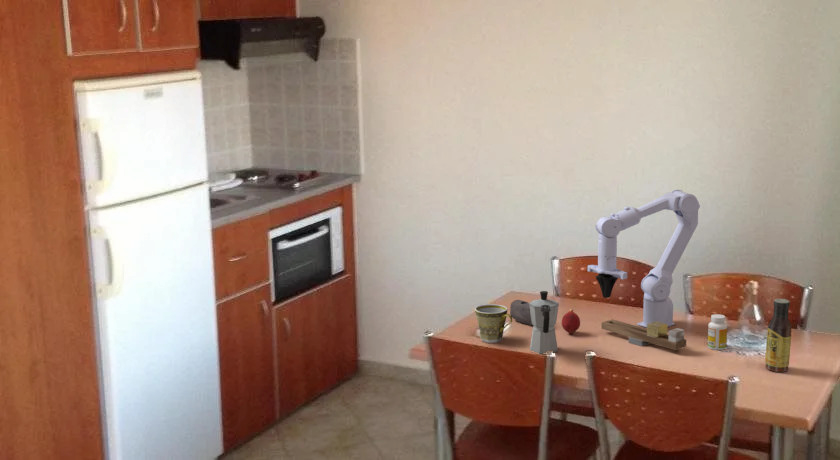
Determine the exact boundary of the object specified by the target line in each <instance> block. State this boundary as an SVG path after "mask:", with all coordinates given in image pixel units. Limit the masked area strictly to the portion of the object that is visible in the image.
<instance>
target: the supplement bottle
mask: <svg viewBox="0 0 840 460" xmlns="http://www.w3.org/2000/svg"><path fill="white" fill-rule="evenodd" d="M707 328H708V329H707V331H708V332H707V348H709V349H711V350H714V351H723V349H724V350H726V349H727V346H728V344H727V343H728V324H727V322H726V316H725V315H723V314H719V313H718V314H716V313H715V314H711V316H710V322H708V327H707Z"/></svg>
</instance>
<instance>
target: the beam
mask: <svg viewBox="0 0 840 460" xmlns="http://www.w3.org/2000/svg"><path fill="white" fill-rule="evenodd" d="M601 329H602V330H605V331H609V332H611V333H615V334H619V335H622V336H625V337H628V340H627V341H628V343H629V344H632V345H635V346H639V347H644V346H647V345H650V344H654V345H657V346H660V347H663V348H667V349H671V350H675V351H676V350H680V349H682V348H686V347H687V339H685V329H682V328H678V327H677V328H673V329H670V330H669V331H668V333H667V334H666V335H663V338H662V337H655V336H651V335H648V334H647V328H646V327H643V326H639V325H635V324H630V323H626V322H623V321H619V320H616V319H613V318H612V319H608V320H606V321H605V320H604V321H602V322H601Z"/></svg>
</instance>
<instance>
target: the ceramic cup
mask: <svg viewBox="0 0 840 460" xmlns="http://www.w3.org/2000/svg"><path fill="white" fill-rule="evenodd" d="M474 313H475V317H476V321H477V325H478V331H479V335H480V340H481V342H484V343H488V344H498V343H499V342H502V341H503V336H504V330H505V329H506V327H507V326H509V325H511V324H512V322H513V318H512V317H511V315H510V313H508V307H507V306H505V305H502V304H494V303H493V304H492V303H491V304H489V303H487V304H481V305H478V306H476V307H475V308H474ZM507 317H508V318H509V319H510V321H509V322H508V323H507V324H506V321H507Z"/></svg>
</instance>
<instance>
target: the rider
mask: <svg viewBox="0 0 840 460" xmlns="http://www.w3.org/2000/svg"><path fill="white" fill-rule="evenodd" d="M667 325H668V324H666V323H662V322H658V321H655V322H652V323H649V324H647V327H646V329H647V334H648V335H651V336H655V337H662V338H663V335H666V334H667V335H668V327H667Z"/></svg>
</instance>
